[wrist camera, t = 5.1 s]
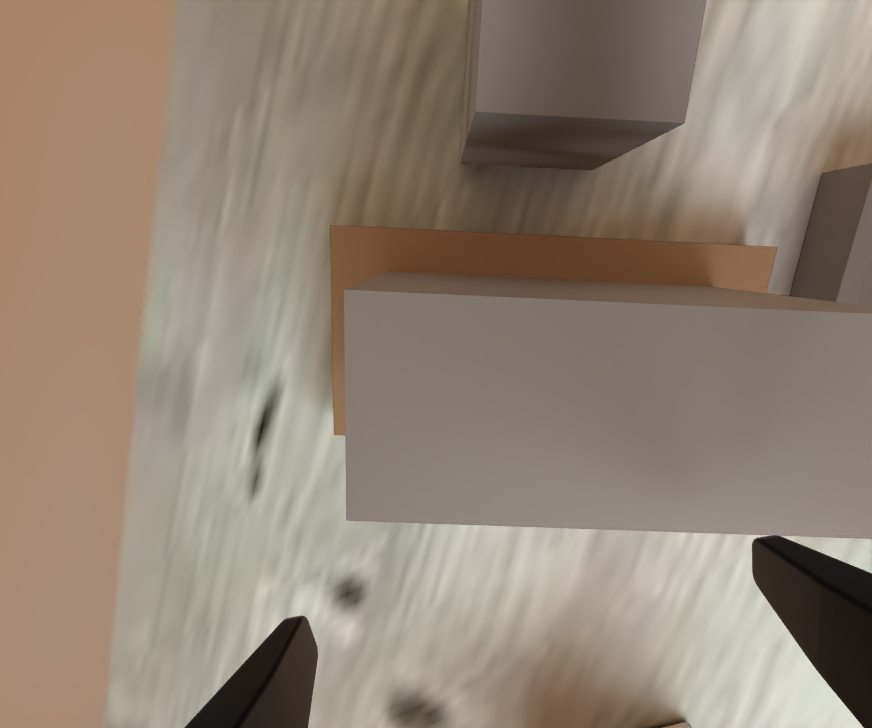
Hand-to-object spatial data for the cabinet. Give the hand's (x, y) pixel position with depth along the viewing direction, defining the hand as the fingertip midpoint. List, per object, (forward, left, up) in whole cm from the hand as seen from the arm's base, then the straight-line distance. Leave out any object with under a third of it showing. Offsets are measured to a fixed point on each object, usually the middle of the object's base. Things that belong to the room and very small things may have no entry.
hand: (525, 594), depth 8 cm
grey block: (-1, -12, -10) cm, 16 cm away
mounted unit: (-2, -3, -10) cm, 11 cm away
